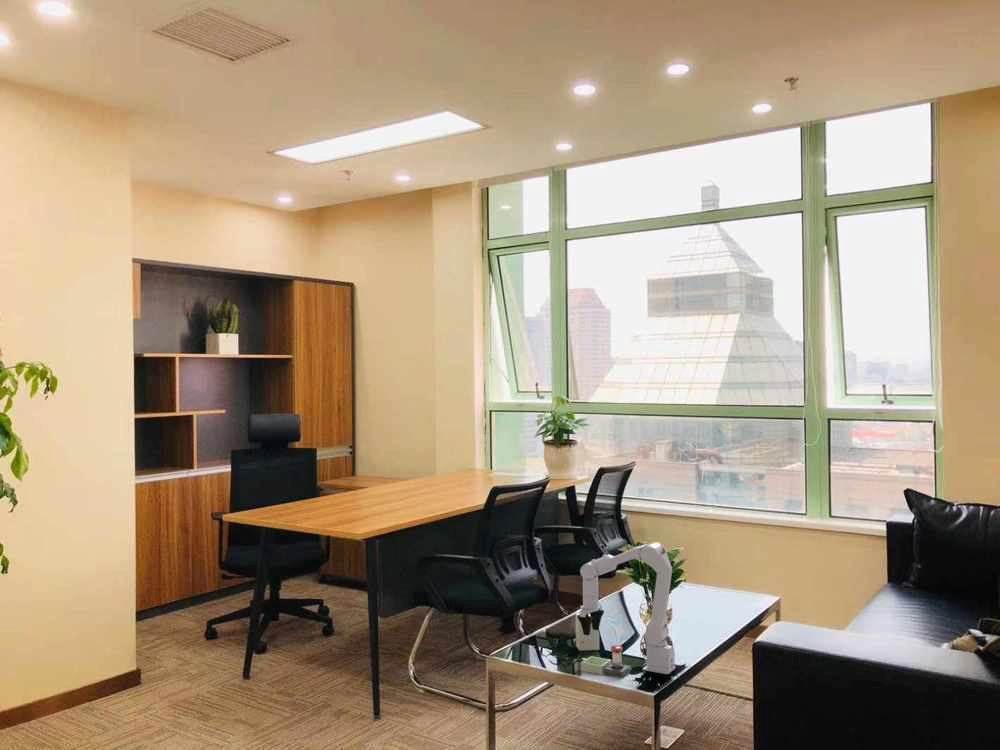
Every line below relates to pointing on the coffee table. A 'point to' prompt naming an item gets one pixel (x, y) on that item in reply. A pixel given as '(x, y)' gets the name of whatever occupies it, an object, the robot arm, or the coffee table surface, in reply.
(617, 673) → the block
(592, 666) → the tray
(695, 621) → the coffee table surface
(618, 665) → the lock pin
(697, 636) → the coffee table surface
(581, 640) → the small box
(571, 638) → the coffee table surface
